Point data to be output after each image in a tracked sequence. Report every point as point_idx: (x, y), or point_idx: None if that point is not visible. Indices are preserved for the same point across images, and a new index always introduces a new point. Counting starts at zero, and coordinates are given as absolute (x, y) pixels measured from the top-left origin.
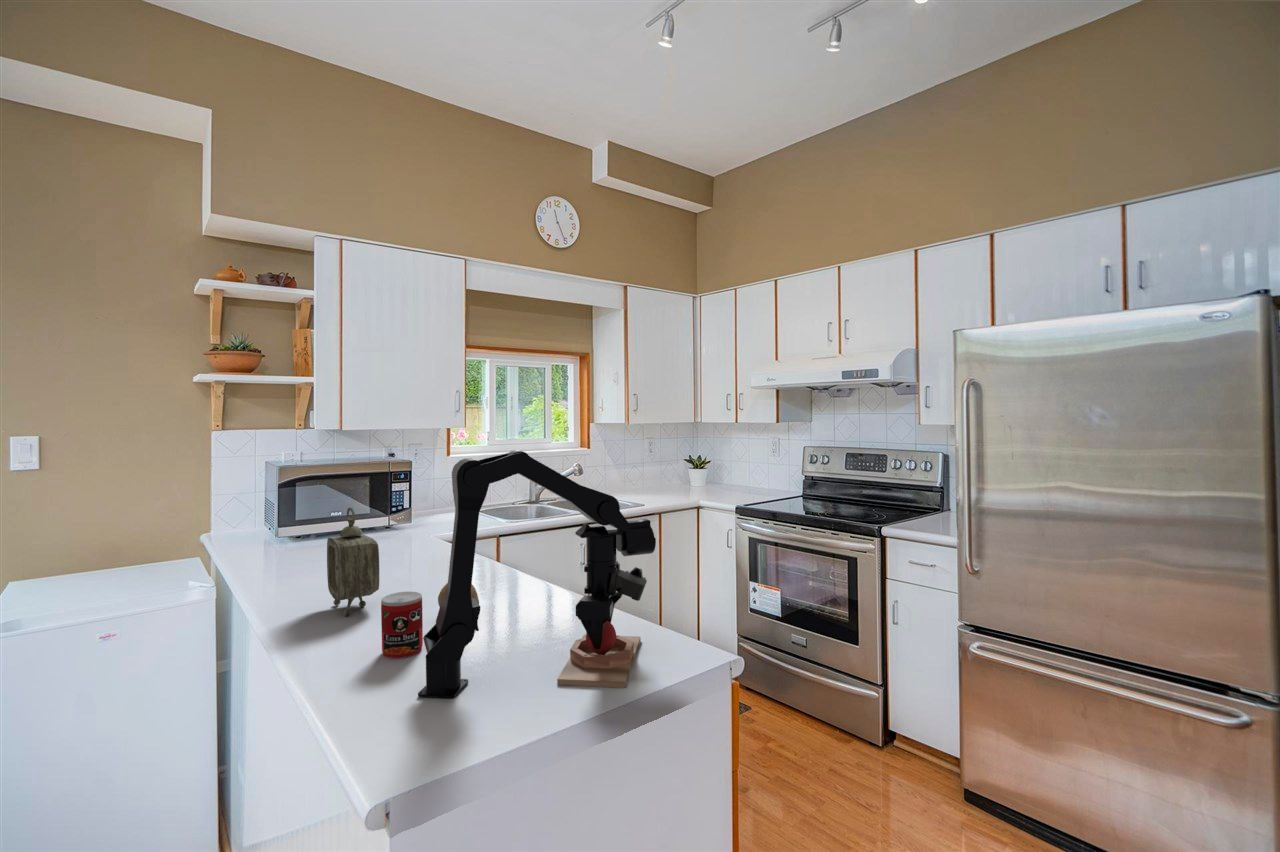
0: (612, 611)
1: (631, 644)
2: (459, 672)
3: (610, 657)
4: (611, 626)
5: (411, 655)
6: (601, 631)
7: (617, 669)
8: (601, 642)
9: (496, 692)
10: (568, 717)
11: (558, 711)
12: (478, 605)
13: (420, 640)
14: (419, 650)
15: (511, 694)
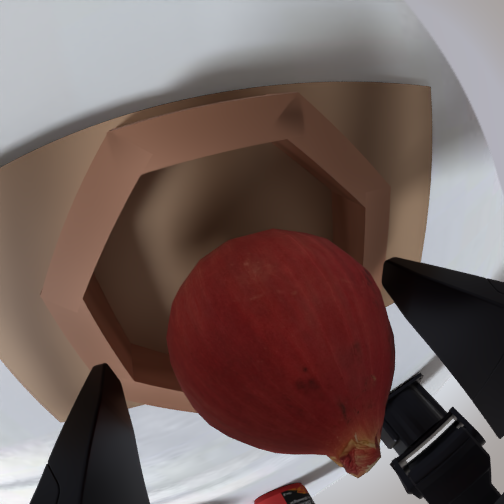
0: (80, 490)
1: (163, 125)
2: (415, 406)
3: (386, 183)
4: (337, 331)
5: (289, 484)
6: (499, 286)
7: (356, 135)
8: (419, 267)
9: (413, 349)
10: (490, 185)
11: (478, 212)
12: (486, 471)
13: (281, 501)
14: (277, 490)
15: None
